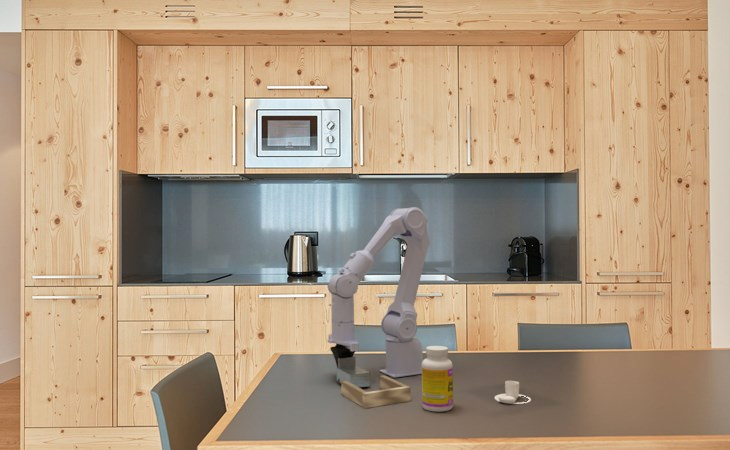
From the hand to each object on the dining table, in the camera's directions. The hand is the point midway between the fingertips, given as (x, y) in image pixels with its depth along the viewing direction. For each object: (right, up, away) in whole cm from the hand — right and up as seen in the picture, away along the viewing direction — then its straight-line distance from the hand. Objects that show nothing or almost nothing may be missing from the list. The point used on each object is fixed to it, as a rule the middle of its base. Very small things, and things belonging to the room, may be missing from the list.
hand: (343, 374), depth 149 cm
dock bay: (+8, -1, -15) cm, 17 cm away
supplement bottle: (+21, -1, -24) cm, 32 cm away
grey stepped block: (+3, -1, -5) cm, 6 cm away
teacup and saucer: (+35, -2, -17) cm, 40 cm away
